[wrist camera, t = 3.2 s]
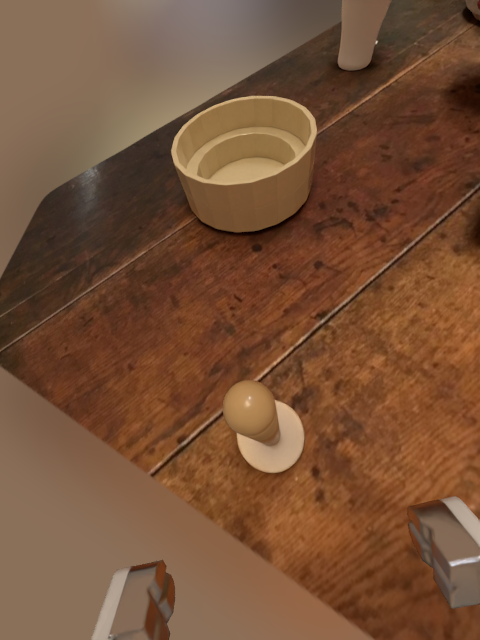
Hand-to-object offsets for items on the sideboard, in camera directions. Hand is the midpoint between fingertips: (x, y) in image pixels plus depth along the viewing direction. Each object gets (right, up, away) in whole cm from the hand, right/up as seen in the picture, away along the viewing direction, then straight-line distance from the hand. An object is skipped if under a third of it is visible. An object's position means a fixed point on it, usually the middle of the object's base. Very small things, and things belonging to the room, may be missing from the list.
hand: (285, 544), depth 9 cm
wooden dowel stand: (+1, -2, +13) cm, 14 cm away
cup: (+19, +52, +38) cm, 67 cm away
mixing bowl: (0, +25, +27) cm, 37 cm away
